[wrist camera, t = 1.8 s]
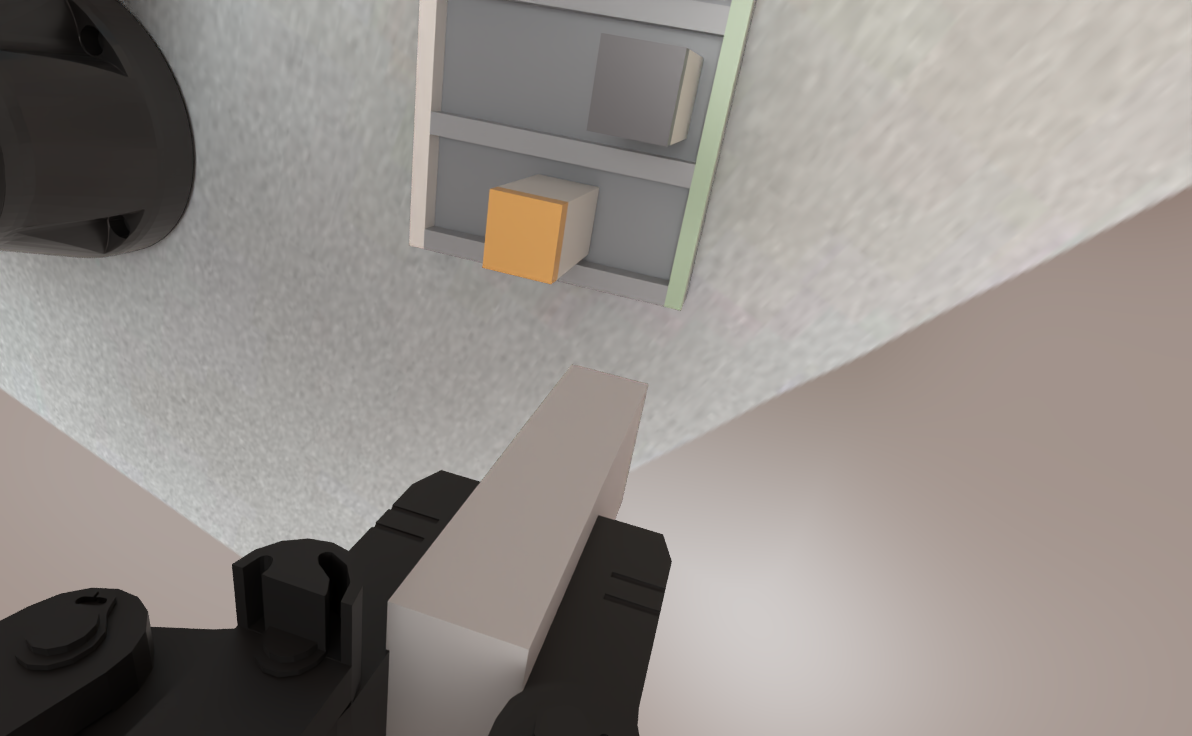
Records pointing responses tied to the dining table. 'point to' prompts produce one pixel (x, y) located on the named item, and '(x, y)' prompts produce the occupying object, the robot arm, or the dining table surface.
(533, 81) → the breaker board
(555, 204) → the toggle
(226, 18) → the dining table surface
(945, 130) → the dining table surface
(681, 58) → the toggle mid
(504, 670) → the robot arm
